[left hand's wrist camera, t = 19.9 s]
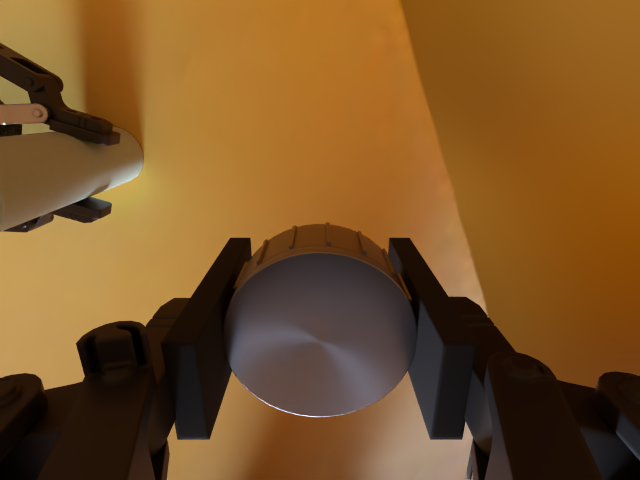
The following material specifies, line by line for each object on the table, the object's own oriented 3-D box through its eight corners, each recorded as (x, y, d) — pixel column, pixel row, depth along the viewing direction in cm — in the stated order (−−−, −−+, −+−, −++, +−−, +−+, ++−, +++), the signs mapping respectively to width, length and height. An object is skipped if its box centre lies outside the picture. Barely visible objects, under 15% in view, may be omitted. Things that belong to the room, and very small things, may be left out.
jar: (139, 126, 31) (-55, 148, 15) (147, 182, 33) (-19, 256, 17) (82, 126, 31) (-173, 148, 15) (94, 182, 33) (-125, 256, 17)
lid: (296, 391, 13) (292, 445, 11) (202, 276, 12) (177, 315, 10) (430, 322, 12) (453, 368, 10) (347, 188, 11) (354, 208, 9)
